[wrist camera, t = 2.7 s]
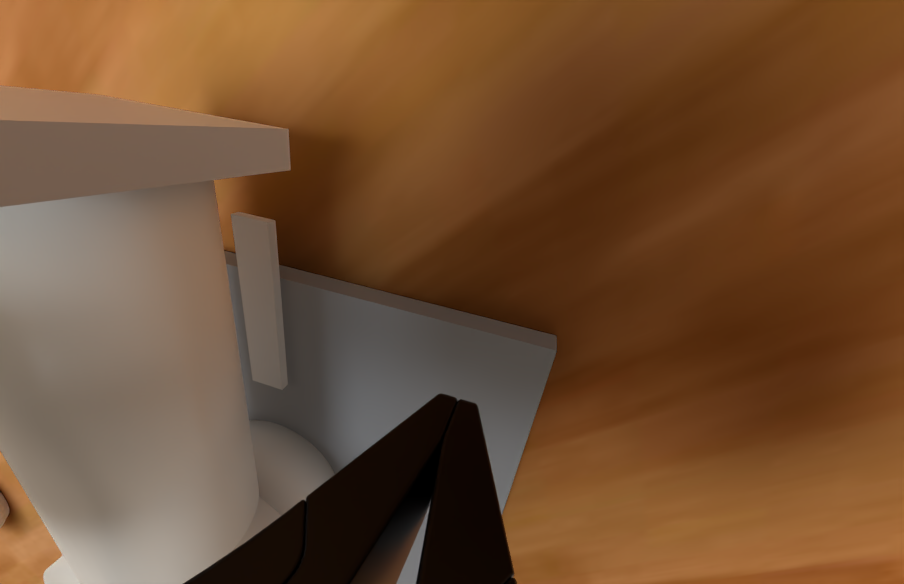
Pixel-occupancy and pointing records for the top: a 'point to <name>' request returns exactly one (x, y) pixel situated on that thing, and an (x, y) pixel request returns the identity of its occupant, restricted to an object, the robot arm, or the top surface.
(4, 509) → the ramekin
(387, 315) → the grey square panel
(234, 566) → the robot arm
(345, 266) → the top surface
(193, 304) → the elbow
